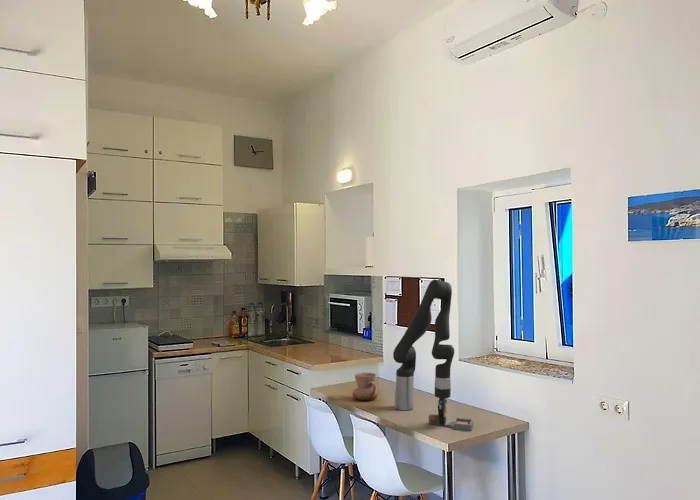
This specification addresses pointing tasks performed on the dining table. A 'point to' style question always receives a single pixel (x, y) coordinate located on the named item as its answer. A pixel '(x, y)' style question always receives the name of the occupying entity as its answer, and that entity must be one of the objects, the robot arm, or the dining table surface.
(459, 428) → the bay
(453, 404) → the dining table surface
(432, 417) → the brown and grey scraper
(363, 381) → the ceramic jug
